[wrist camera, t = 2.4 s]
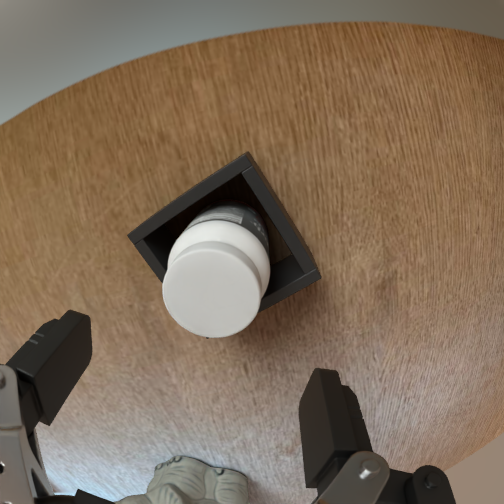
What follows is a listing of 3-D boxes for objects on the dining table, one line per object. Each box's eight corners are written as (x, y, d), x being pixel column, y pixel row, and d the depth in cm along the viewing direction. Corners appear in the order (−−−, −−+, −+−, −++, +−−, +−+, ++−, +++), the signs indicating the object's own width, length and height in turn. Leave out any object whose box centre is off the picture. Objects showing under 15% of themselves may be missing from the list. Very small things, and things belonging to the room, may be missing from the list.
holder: (148, 218, 24) (126, 235, 20) (248, 150, 22) (245, 154, 18) (215, 308, 26) (207, 339, 22) (312, 253, 24) (322, 278, 20)
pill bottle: (271, 267, 25) (276, 345, 16) (198, 273, 25) (165, 349, 16) (264, 193, 23) (266, 233, 14) (187, 201, 23) (139, 245, 14)
